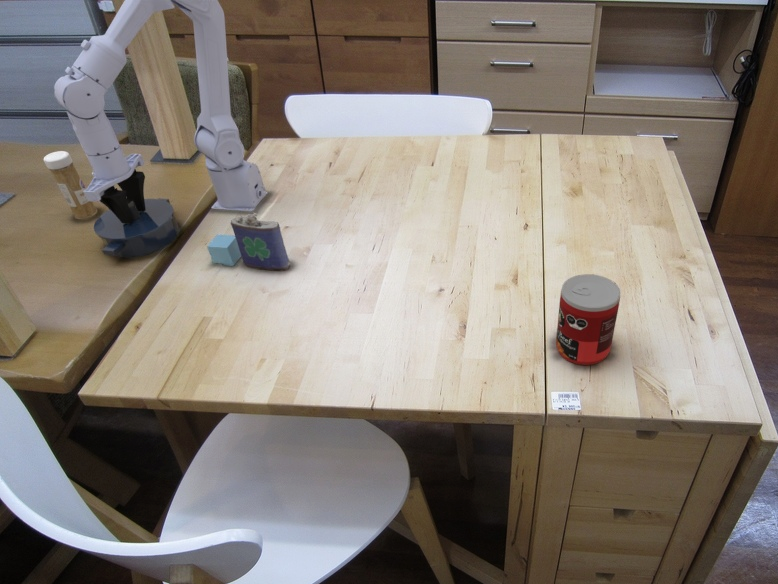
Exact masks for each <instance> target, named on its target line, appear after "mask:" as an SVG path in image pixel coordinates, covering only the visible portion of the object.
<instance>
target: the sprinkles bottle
mask: <svg viewBox="0 0 778 584" xmlns="http://www.w3.org/2000/svg"><path fill="white" fill-rule="evenodd" d="M43 162H44V164H45V166H46V168H47V169H48V170H49V171H50V173H51V175H52V176H53V179H54V180H55V183H56V185H57V187H58V188H59V190H60V192H61V194H62V196H63V198H64V200H65V202H66V203H67V205H68V207H69V208H70V210H71V211H72V213H73V216H74V219H77V220H85V219H89V218H92V217H93V216H95V215H96V214H97V213H98V209H97V208H96V206H95V205H94V202H93V201H88V200H87V198H86V196H85V194H84V192H83V191H84V190H86V189H87V187H86V185H85V184H84V182H83V180H82V178H81V177H80V175H79V173H78V171H77V169H76V167H75V165H74V162H73V159H72V157H71V154H70V153H69V152H68V151H64V150H58V151H53V152H50V153H48V154H46V155H45V156H44V157H43Z"/></svg>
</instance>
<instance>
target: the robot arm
mask: <svg viewBox="0 0 778 584" xmlns="http://www.w3.org/2000/svg"><path fill="white" fill-rule="evenodd" d="M175 5H176V6H175ZM176 7H177V8H178V9H180V10H181V11H182V12H183V13H184V14H185V15H186V16H187V17H188V18H189V19H190V20H191V21H192V25H193V35H194V36H193V37H194V46H195V47H194V48H195V57H196V58H195V59H196V70H197V80H198V81H197V82H198V90H199V91H198V93H199V101H200V113H199V115H198V116H197V118H196V124H197V125H196V131H195V133H194V136H193V143H194V146H195V148H196V150H197V151H198V152H199V153H201V154H202V155H203V156H204V157H205V167H206V170H207V172H208V176H209V179H210V180H211V184H212V187H213V190H214V193H215V196H216V198H217V200H216V202H214V204H213V205H212V206H210V207H211V209H214V210H215V209H216V210H230V211H244V212H245V211H247V212H254V210H255V209H256V208H257V206H258V205H259V204H260V203H261V202H262V200H263V199H264V198H265V197H266V196H267V194H268V193H269V192H268V191H266V189H265V185H264V181H263V177H262V174H261V171H260V168H259V166H258V165H257V164H256V163H254V162H249V161H247V160H245V152H246V151H245V147H244V144H243V142H242V140H241V138H240V132H239V131H240V130H239V128H238V126H237V124H236V123H235V120H234V118H233V116H232V113H231V112H232V110H231V97H230V96H231V95H230V94H231V93H230V81H229V65H228V49H227V34H226V32H227V31H226V19H225V12H224V9H223V7H222V6H221V3H220V2H219V0H124V1H123V3H122V4H121V6H120V8H118V11H117V12H116V14H115V16H114V17H113V19H112V21H111V23H110V24H109V26H108V28H107V29H106V31H105V33H104V34H102V35H101V34H100V35H93V36H91V37H90V39H89V40H87V39H83V41H82V42H81V43H80V47H81V48H82V51H81V52H80V53H79V55H78V57H77V58H76V59H75V61H74V62H73V64H72V66H71V67H70V66H67V67H66V69H64V72H65V73H66V74H65V75H64V76H63V75H62V76H60V77H59V78H58V79H57V80H56V82H54V83H55V84H54V86H53V90H54V91H53V93H54V95H53V98H54V100H55V101H56V102H57V104H59V105H60V107H62V108H64V109H65V110H66V115H67V116H68V120H69V122H70V123H71V124H72V129H73V132H74V133H75V135H76V137H77V140H78V141H79V143H80V145H81V148H82V150H83V152H84V154H85V155H86V158H87V161H88V162H89V164H90V167H91V168H92V172H91V175H92V177H93V178H92V180H91V181H90V183H89V185H87V187H86V190H84V191H83V192H84V194H85V196H86V198H87V200H88V201H92V202H93V203H94V202H95V203H96V202H97V203H98V202H100V203H102V204H103V205H104V207H107V208H108V210H111V211H112V212H113V213H114V214H115V215H116V217H117V218H118V219H119V220H120V221H121V222H122V223H127V224H131V223H132V222H133V218H132V215H131V213H130V210H129V208H128V204H127V199H126V198H132V199H133V200H134V202H135V205H136V207H137V209H138V211H139V212H144V211H145V210H146V208H145V201H144V199H145V194H144V189H145V188H144V186H145V180H146V175H145V173H144V171H138V170H136V169H137V168H139V167H141V166H144V165H145V161H144V159H143V157H142V156H143V155H142V154H141V153H131V154H129V155H128V156H126V155H125V153H124V151H123V149H122V146H121V145H120V142H119V140H118V137H117V136H116V135H117V134H116V133H115V130H114V128H113V126H112V123H111V122H110V119H109V118H108V117H107V114H106V112H105V105H106V104H105V94H107V93H108V91H109V90H110V88H111V86H112V85H113V83H114V82H115V81H116V79H117V78H118V76H119V74H120V73H121V71H122V70H123V69H124V67H125V66H126V65H127V63H128V60H127V55H126V49H127V47H128V46H129V45H130V44H131V43H132V41H133V40H134V38H135V37H136V36H137V35H138V33H139V32H140V31H141V29H142V28H143V27H144V25H145V24H146V23H147V21H148V20H149V19H150V18H151V17H152V15H153V14H155V13H156V12H157V13H158V12H162V11H167V10H173V9H175V8H176ZM116 185H117V186H118V187H119V188H120V189H118V188H117V187H116ZM115 187H116V188H115Z"/></svg>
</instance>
